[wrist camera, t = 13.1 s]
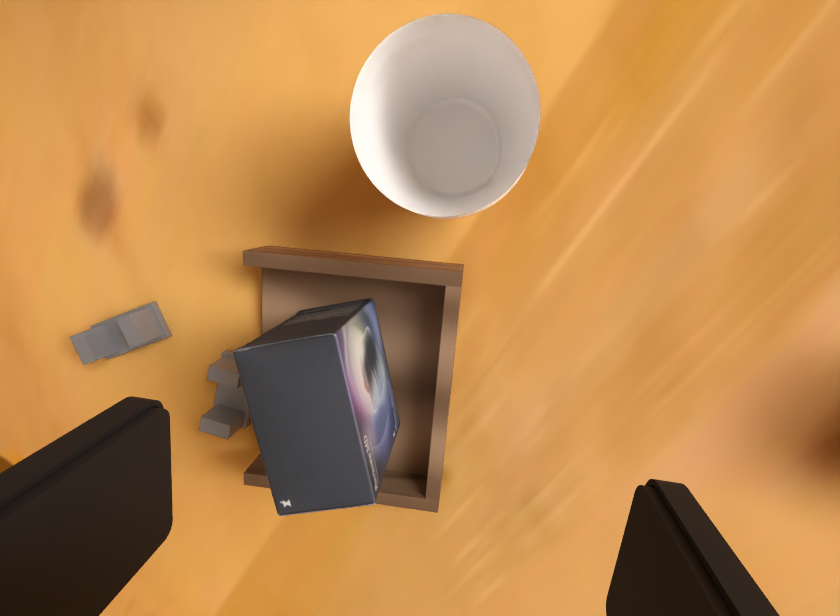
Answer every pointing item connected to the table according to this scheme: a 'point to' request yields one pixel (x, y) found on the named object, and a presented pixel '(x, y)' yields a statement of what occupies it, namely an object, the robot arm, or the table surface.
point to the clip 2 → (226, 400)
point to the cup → (445, 115)
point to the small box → (321, 407)
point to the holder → (403, 342)
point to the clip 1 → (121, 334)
